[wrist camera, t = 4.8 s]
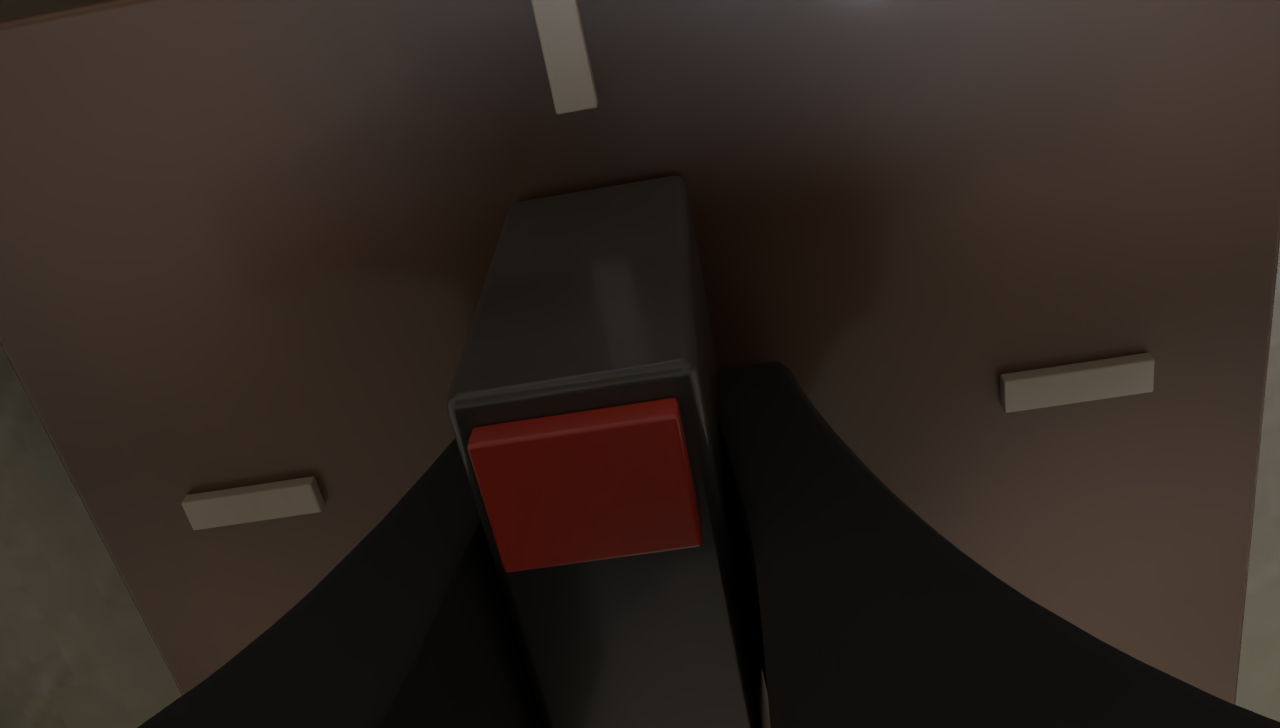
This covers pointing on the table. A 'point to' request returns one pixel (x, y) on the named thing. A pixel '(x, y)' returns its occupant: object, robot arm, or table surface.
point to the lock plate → (728, 251)
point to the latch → (609, 464)
